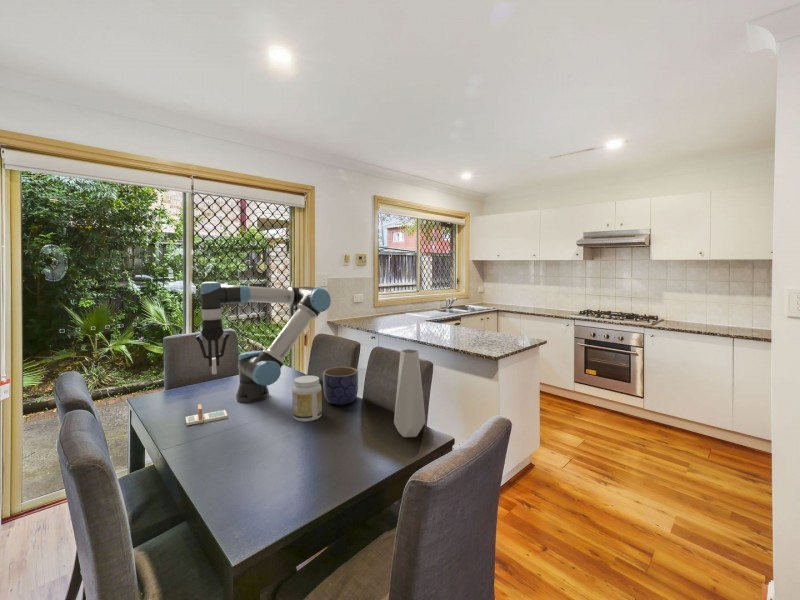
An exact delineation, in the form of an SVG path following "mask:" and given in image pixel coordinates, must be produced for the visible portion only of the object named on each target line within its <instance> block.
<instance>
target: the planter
mask: <svg viewBox="0 0 800 600" xmlns="http://www.w3.org/2000/svg"><path fill="white" fill-rule="evenodd" d="M322 381H323V382H322V383H323V384H322V385H323V394H324V398H325V400H326V401H327V402H328V403H330V404H331V405H335V406H344V405H348V404H350V403H353V402H354V401H355V399H356V398H357V396H358V392H359V371H358V369H357V368H355V367H351V366H350V367H349V366H336V367H335V366H334V367H329V368H327V369H325V370H324V371H323V373H322Z"/></svg>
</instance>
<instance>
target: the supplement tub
mask: <svg viewBox="0 0 800 600" xmlns="http://www.w3.org/2000/svg"><path fill="white" fill-rule="evenodd" d="M293 381H294V383H293V384H294V385H293V387H292V390H291V392H292V415H293V417H292V418H293V419H294V420H295V421H296V422H301V423H302V422H303V423H305V422H307V423H308V422H312V421H316V420H318V419H319V418H321V417H322V415H323V407H322V406H323V405H322V404H323V403H322V401H323V399H322V398H323V397H322V385H321V383H320V377H319V376H316V375H301V376H297V377H295V378H294V380H293Z"/></svg>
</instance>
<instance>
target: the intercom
mask: <svg viewBox="0 0 800 600" xmlns="http://www.w3.org/2000/svg"><path fill="white" fill-rule="evenodd" d="M185 423H186V426H192V425H197V424H202V423H204V421H203V408H202V404H201V403H199V404H197V414H193V415H189V416H185Z"/></svg>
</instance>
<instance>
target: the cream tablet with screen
mask: <svg viewBox="0 0 800 600" xmlns="http://www.w3.org/2000/svg"><path fill="white" fill-rule="evenodd" d="M202 417H203V423H209V422H214V421H219V420H224V419H225V420H226V419H228V413H227V411H226V409H224V410H223V409H222V410H217V411H212V412H207V413H202Z"/></svg>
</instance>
